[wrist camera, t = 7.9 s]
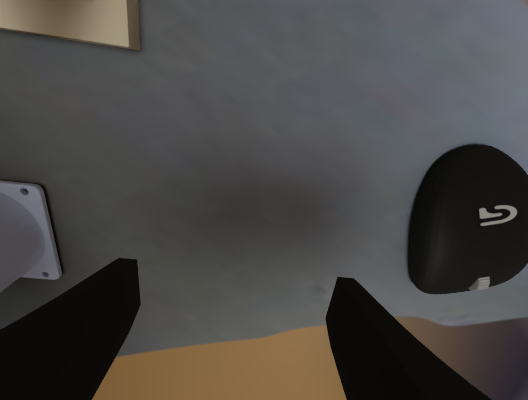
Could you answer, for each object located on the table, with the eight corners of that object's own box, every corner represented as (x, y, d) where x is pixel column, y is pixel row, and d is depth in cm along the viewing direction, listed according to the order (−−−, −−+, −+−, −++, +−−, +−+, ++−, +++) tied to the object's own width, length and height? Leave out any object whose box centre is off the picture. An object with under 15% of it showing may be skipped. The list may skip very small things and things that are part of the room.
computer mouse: (519, 133, 18) (588, 145, 14) (489, 273, 22) (535, 309, 19) (408, 153, 18) (447, 169, 14) (401, 286, 23) (429, 324, 19)
